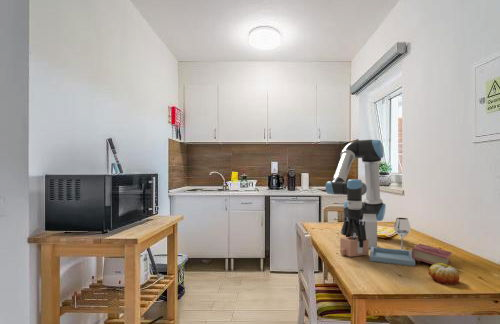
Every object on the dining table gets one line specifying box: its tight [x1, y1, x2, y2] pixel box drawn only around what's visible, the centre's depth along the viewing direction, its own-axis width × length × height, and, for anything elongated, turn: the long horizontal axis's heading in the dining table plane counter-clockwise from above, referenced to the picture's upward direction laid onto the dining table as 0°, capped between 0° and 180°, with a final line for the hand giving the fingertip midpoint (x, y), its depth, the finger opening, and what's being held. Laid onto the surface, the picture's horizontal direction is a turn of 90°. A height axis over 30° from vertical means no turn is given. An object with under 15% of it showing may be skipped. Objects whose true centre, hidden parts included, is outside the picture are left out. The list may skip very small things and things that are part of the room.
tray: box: [369, 246, 416, 267], centre depth 163 cm, size 20×20×2 cm
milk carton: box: [361, 214, 378, 249], centre depth 186 cm, size 7×7×19 cm
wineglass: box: [393, 217, 412, 250], centre depth 177 cm, size 8×8×18 cm
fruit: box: [428, 263, 460, 285], centre depth 132 cm, size 11×10×8 cm
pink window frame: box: [339, 236, 370, 258], centre depth 170 cm, size 14×8×8 cm, turn 112°
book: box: [411, 243, 453, 266], centre depth 156 cm, size 14×15×5 cm
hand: (354, 251), depth 170 cm, fingers closed on pink window frame, 8 cm apart
